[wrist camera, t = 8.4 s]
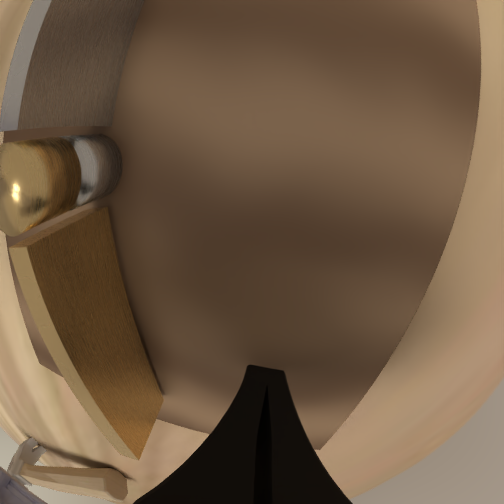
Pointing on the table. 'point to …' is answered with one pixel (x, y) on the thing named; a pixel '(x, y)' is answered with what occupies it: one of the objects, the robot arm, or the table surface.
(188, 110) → the walnut board
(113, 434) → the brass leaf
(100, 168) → the strip
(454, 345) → the table surface
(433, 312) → the table surface
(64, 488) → the hammer
